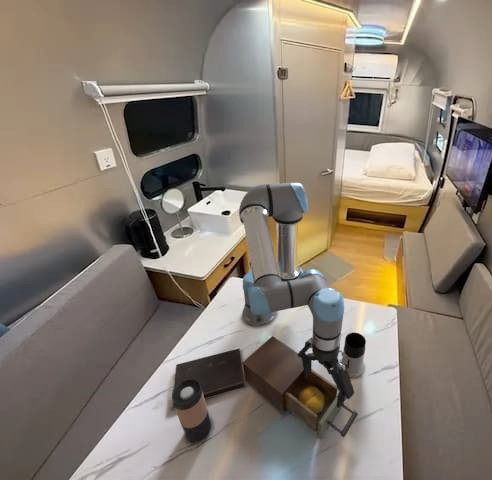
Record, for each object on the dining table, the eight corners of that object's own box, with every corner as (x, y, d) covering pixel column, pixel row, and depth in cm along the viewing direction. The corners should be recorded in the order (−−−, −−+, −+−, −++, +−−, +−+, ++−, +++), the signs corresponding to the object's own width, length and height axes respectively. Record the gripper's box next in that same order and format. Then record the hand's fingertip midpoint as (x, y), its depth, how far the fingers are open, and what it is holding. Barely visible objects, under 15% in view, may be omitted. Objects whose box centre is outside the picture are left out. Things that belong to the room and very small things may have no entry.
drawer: (360, 416, 90) (363, 401, 86) (338, 454, 80) (340, 440, 76) (303, 375, 102) (304, 360, 98) (278, 405, 92) (277, 390, 88)
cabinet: (310, 379, 102) (310, 361, 97) (282, 412, 91) (281, 394, 86) (273, 353, 111) (272, 335, 106) (245, 380, 100) (242, 362, 95)
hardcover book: (177, 368, 104) (176, 364, 103) (240, 351, 111) (239, 348, 110) (173, 409, 91) (172, 405, 90) (244, 387, 98) (244, 383, 97)
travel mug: (211, 439, 84) (199, 401, 74) (184, 447, 82) (168, 408, 72) (212, 414, 90) (202, 375, 80) (187, 420, 88) (173, 382, 78)
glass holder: (367, 370, 106) (372, 344, 98) (337, 388, 99) (340, 361, 92) (353, 354, 112) (357, 327, 105) (324, 369, 106) (326, 342, 98)
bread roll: (311, 421, 87) (311, 414, 85) (294, 400, 93) (294, 392, 91) (330, 404, 92) (330, 397, 90) (313, 385, 98) (313, 378, 96)
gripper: (373, 360, 69) (363, 408, 79) (303, 310, 83) (303, 356, 94) (355, 380, 64) (348, 428, 74) (285, 323, 78) (286, 371, 89)
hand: (323, 388), depth 84 cm, fingers open, 13 cm apart
